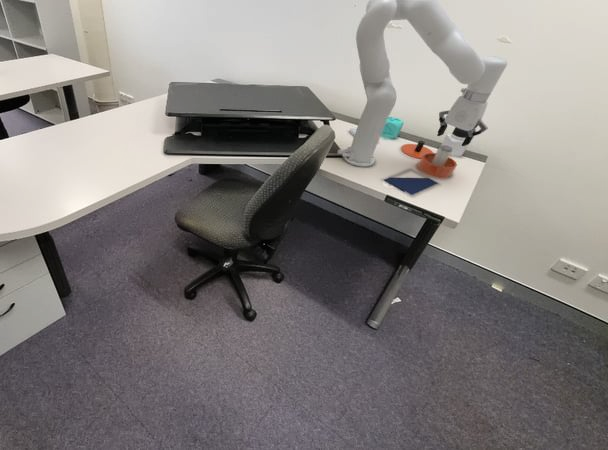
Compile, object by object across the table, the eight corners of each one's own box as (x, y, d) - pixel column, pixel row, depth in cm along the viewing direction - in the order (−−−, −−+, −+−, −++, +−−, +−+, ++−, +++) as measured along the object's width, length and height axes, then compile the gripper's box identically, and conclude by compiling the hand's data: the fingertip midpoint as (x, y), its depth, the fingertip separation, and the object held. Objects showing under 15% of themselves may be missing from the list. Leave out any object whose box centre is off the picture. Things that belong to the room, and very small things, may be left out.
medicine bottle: (461, 157, 146) (476, 132, 138) (444, 155, 147) (458, 130, 139) (455, 149, 151) (469, 125, 143) (438, 148, 152) (452, 123, 144)
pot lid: (408, 160, 143) (414, 148, 139) (395, 145, 153) (400, 134, 149) (438, 160, 143) (445, 149, 139) (423, 146, 153) (429, 135, 149)
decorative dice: (393, 141, 156) (400, 125, 151) (376, 136, 160) (382, 120, 155) (398, 135, 161) (405, 119, 156) (381, 130, 165) (387, 115, 160)
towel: (411, 195, 122) (411, 195, 122) (384, 180, 130) (384, 179, 130) (437, 183, 129) (438, 183, 129) (410, 169, 137) (410, 168, 136)
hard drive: (350, 128, 162) (362, 140, 153) (365, 128, 163) (378, 139, 154) (349, 131, 163) (361, 143, 154) (364, 131, 164) (377, 142, 155)
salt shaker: (431, 172, 135) (444, 150, 128) (425, 166, 138) (437, 144, 131) (442, 172, 135) (455, 150, 128) (436, 167, 138) (449, 144, 131)
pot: (426, 178, 132) (432, 168, 129) (412, 162, 141) (417, 152, 138) (456, 179, 132) (463, 168, 129) (440, 163, 141) (446, 153, 138)
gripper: (445, 90, 120) (425, 133, 132) (496, 105, 109) (469, 151, 120) (457, 86, 123) (436, 129, 134) (507, 101, 112) (480, 147, 123)
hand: (451, 140), depth 127 cm, fingers open, 9 cm apart
